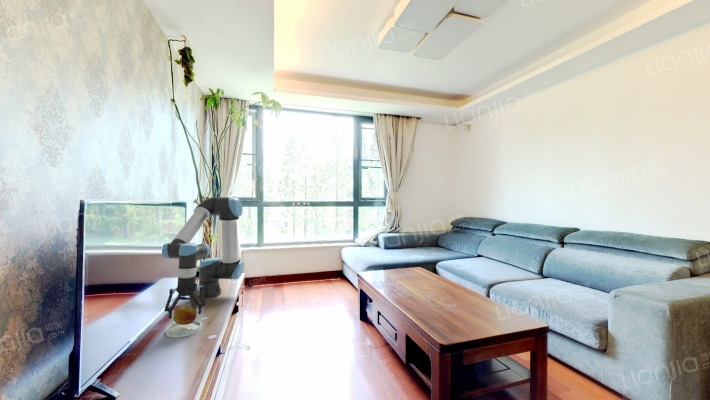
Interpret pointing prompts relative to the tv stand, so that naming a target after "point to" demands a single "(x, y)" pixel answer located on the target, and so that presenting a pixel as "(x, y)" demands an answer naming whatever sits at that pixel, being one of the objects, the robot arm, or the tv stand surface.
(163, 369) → the tv stand surface
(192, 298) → the alarm clock
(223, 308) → the tv stand surface
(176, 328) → the dish
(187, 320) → the fruit
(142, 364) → the tv stand surface
